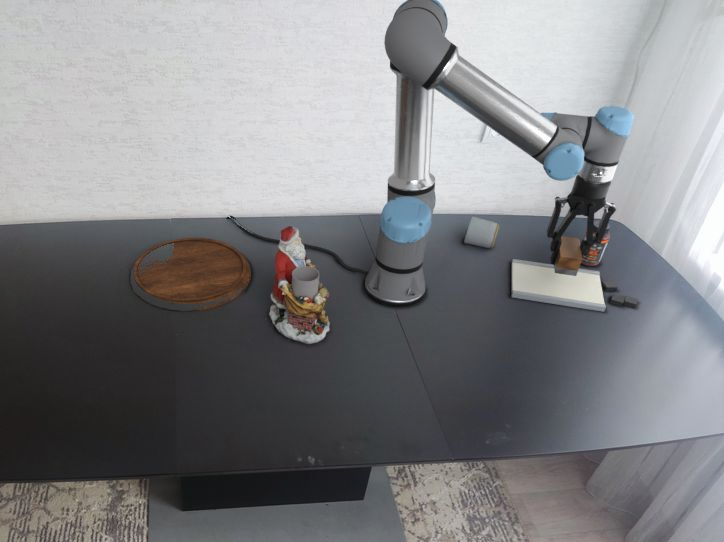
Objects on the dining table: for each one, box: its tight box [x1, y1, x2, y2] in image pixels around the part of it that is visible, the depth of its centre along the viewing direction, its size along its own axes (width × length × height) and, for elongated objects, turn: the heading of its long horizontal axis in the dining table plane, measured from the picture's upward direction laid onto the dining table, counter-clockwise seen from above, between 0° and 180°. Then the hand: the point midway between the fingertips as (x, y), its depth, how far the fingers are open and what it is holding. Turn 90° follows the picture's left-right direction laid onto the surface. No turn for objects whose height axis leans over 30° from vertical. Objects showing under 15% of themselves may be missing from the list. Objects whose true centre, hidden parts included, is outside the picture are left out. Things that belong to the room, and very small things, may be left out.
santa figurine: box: [268, 225, 331, 345], centre depth 151 cm, size 17×14×25 cm
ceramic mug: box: [463, 215, 500, 249], centre depth 185 cm, size 11×8×8 cm
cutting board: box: [133, 237, 252, 312], centre depth 174 cm, size 32×32×2 cm
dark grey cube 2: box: [601, 280, 618, 292], centre depth 170 cm, size 3×3×1 cm
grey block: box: [609, 293, 626, 308], centre depth 165 cm, size 3×3×1 cm
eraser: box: [554, 235, 582, 276], centre depth 164 cm, size 5×10×5 cm, turn 164°
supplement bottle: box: [581, 220, 611, 267], centre depth 176 cm, size 6×6×11 cm
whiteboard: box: [510, 258, 607, 313], centre depth 170 cm, size 22×16×1 cm
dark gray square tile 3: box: [622, 295, 639, 309], centre depth 164 cm, size 3×3×1 cm
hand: (564, 263), depth 166 cm, fingers closed on eraser, 5 cm apart
